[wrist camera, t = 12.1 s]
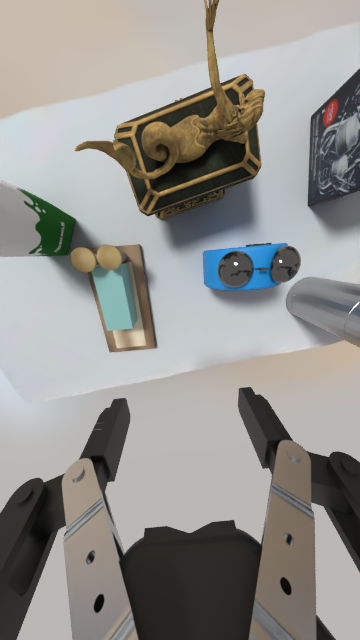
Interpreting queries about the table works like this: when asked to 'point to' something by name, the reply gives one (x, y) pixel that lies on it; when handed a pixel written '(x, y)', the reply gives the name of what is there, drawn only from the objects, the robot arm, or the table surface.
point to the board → (132, 256)
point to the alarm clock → (250, 266)
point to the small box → (336, 145)
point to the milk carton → (31, 225)
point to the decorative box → (191, 143)
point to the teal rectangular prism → (115, 297)
